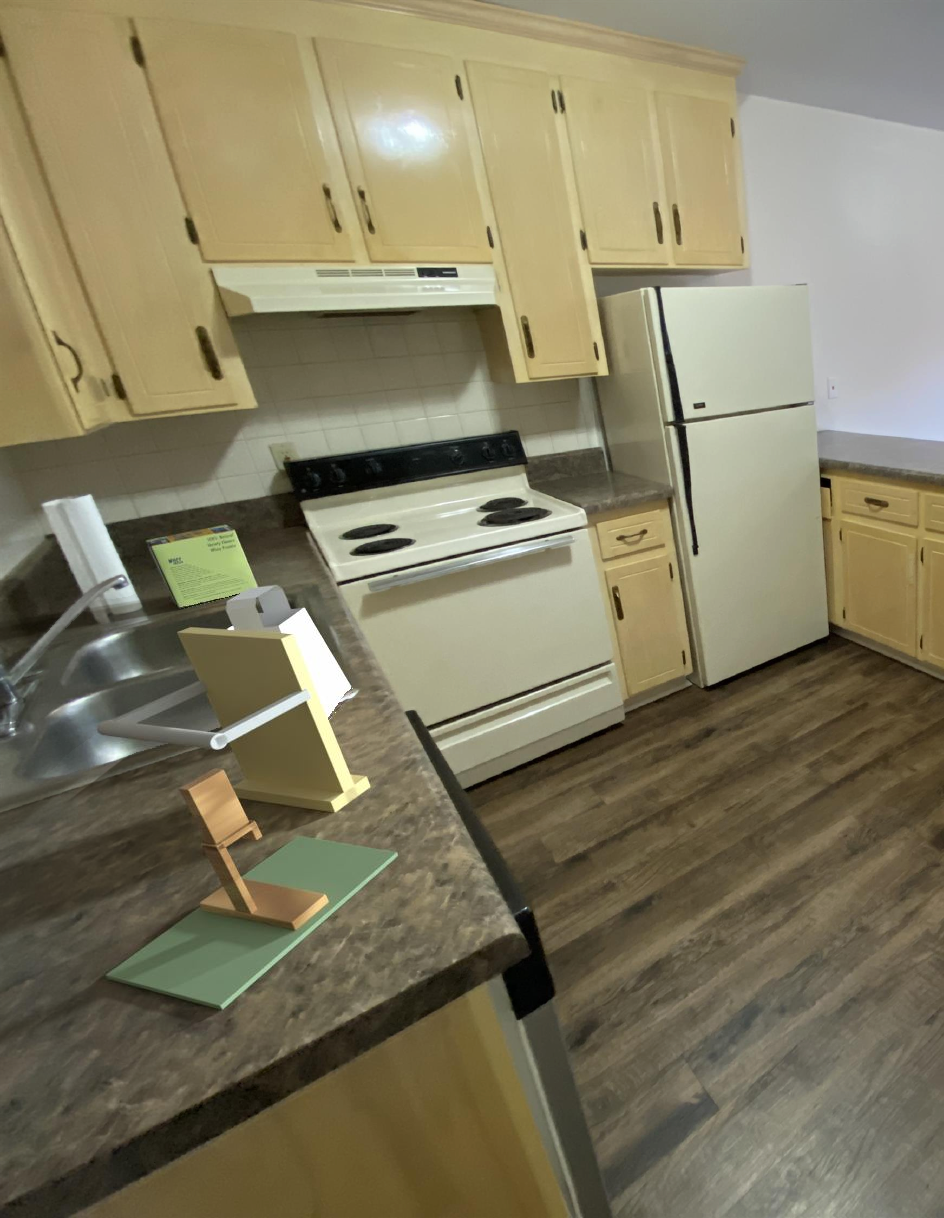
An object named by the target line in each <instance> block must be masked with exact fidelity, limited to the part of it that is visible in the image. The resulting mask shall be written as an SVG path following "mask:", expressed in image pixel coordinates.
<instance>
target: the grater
mask: <svg viewBox="0 0 944 1218" xmlns="http://www.w3.org/2000/svg"><path fill="white" fill-rule="evenodd" d="M257 600H258V602H259V605H260V607H261V609H262V611H263V612H258V610H257V607H256V605H257ZM225 612H226V615H227V617H228V618H229V621H230V623H231V625H232V626H230V627H228V628H226V630H242V631H258V632H275V633H291V634H294V636H295V638H296V641H297V643H298V646H299V648H300V651H301V653H302V656H303V658H304V661H305V663H306V666H307V668H308V671H309V673H310V676H311V678H312V681H313V683H314V686H315V688H316V691H317V693H318V696H319V698H320V701H321V703H322V706H323V708H324V711H325V713H326V716H327V718H328V717H329V716H330V714H331V713H332V711H334V709H335V707H336V706H337V705H338V703H339V702H340V699H341V698H342V697H343V696H344V694H345V693H346V692H347V691H349V690H350V689H351V687H352V686H351V684H350V682H349V681H348V679H347V677H346V676H345V674H344V672H343V670H342V669H341V666H340V665H339V664H338V662H337V660H336V659H335V657H334V655H333V653H332V652H331V650H330V649H329V647H328V645H327V644H326V642H325V640H324V638H323V637H322V635H321V634H320V632H319V630H318V628H317V626H316V625H315V623H314V622H313V620H312V618H311V616H310V615H309V613H308V611H307V610H306V608H305V607H297V608H291V605H290V603H289V601H288V598H287V596H286V593H285V591H284V588H282V587H281V586H279V585H278V584H273V585H272V584H271V585H265V586H258V587H256V588H249V589H247V590H246V591H244V592H242V593H240V594H239V595H236V596H232V597H231V598H230V599H228V600H226V605H225Z"/></svg>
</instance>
